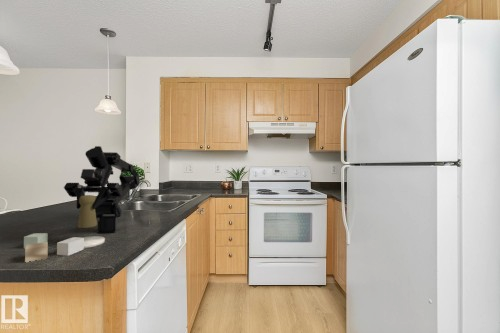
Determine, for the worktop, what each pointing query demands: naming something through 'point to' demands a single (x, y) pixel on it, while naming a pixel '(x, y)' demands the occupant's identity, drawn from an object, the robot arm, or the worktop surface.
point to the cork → (87, 212)
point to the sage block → (35, 238)
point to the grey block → (70, 246)
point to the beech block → (36, 251)
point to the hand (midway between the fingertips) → (85, 208)
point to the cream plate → (93, 241)
